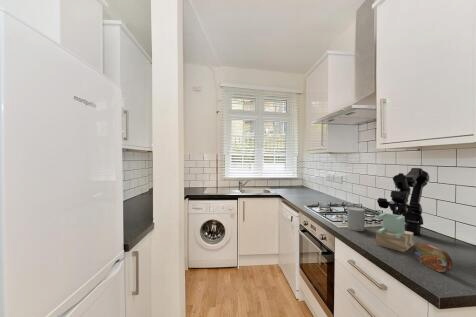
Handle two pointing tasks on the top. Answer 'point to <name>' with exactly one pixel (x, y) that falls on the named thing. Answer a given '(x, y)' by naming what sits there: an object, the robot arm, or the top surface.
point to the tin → (432, 257)
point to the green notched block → (393, 224)
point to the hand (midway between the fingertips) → (394, 218)
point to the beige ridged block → (395, 240)
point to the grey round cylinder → (356, 218)
